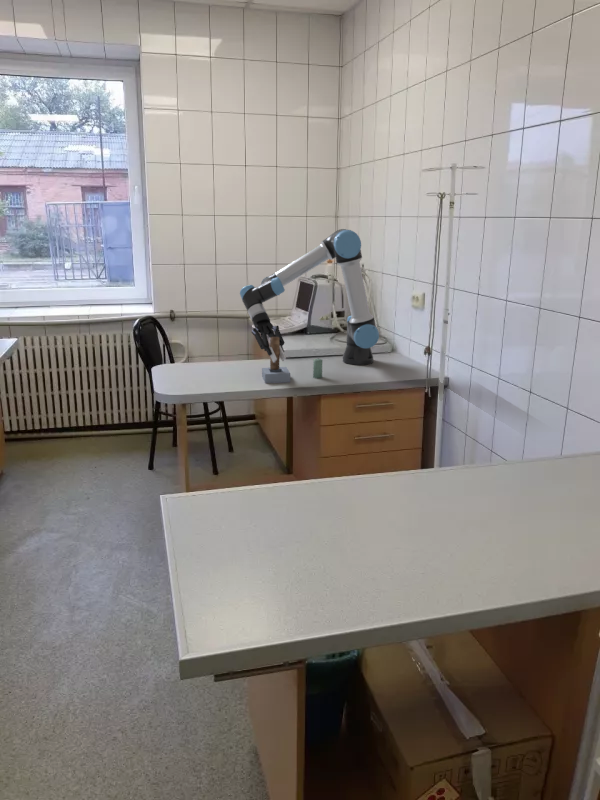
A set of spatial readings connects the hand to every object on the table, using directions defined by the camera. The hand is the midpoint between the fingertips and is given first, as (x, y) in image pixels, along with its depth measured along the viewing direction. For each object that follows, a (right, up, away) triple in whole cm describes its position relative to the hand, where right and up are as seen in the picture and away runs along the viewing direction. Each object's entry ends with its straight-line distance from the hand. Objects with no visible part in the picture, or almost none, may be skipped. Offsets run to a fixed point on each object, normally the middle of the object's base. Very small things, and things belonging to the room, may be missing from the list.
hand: (279, 360), depth 268 cm
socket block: (-2, -8, +6) cm, 10 cm away
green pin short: (+17, -7, +10) cm, 21 cm away
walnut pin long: (-2, -4, +4) cm, 6 cm away
